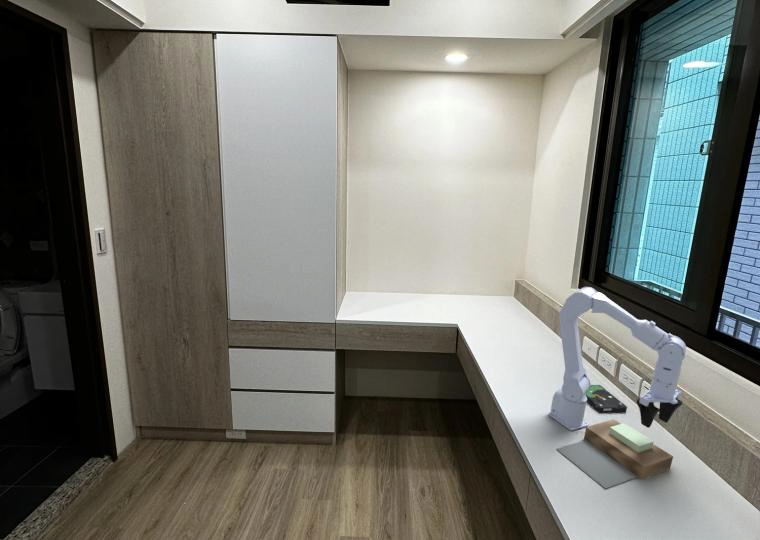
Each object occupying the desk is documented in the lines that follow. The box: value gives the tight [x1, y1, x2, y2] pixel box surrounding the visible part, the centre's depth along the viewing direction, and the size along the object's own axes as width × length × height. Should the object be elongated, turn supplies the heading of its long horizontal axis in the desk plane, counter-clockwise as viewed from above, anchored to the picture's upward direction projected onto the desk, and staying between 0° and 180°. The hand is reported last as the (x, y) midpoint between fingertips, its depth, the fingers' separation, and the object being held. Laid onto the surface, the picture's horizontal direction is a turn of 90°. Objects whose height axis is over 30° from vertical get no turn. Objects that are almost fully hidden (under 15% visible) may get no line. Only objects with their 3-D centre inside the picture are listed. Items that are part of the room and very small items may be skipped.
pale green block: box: [609, 423, 654, 452], centre depth 117 cm, size 9×6×2 cm, turn 23°
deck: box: [583, 419, 674, 480], centre depth 117 cm, size 18×12×4 cm, turn 23°
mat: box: [556, 439, 638, 490], centre depth 112 cm, size 16×12×1 cm
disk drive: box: [586, 384, 628, 414], centre depth 145 cm, size 10×3×15 cm
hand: (654, 423), depth 116 cm, fingers open, 7 cm apart
